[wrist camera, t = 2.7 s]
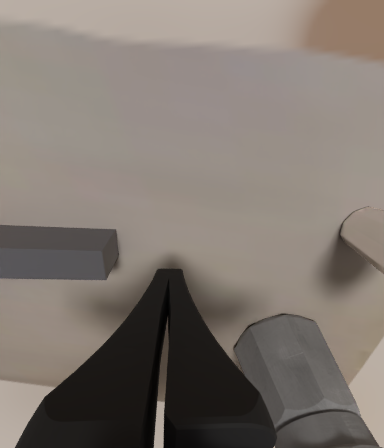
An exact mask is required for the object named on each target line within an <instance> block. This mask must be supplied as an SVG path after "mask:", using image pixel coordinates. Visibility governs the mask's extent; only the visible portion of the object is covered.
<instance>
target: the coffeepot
mask: <svg viewBox="0 0 384 448" xmlns="http://www.w3.org/2000/svg"><path fill="white" fill-rule="evenodd" d="M234 350H235V353H236V355H237V358H238V360H239V362H240V365H241V367H242V370H243V372H244V375H245V377H246V378H247V379H248V380H249V381H250V382H251V383H252V384H253V385H254V386H255V388H256V389H257V390H258V391H259V392H260V394H261V396H262V398H263V400H264V402H265V404H266V407H267V409H268V411H269V414H270V416H271V419H272V421H273V424H274V427H275V431H276V435H277V440H276V443H275V448H382V447H379V445H378V443H377V442H376V440H375V439H374V437H373V435H372V434H371V432H370V430H369V429H368V427H367V426H366V424H365V422H364V421H363V419H362V418H361V415H360V411H359V408H358V406H357V404H356V401H355V399H354V397H353V395H352V393H351V391H350V389H349V387H348V385H347V383H346V381H345V379H344V377H343V375H342V373H341V371H340V369H339V367H338V365H337V363H336V361H335V359H334V357H333V355H332V353H331V351H330V349H329V347H328V345H327V343H326V341H325V339H324V337H323V335H322V333H321V331H320V329H319V327H318V325H317V323H316V322H315V321H312V320H310V319H307V318H305V317H302V316H298V315H277V316H272V317H269V318H265V319H263V320H261V321H258V322H257V323H255V324H253V325H251V326H250V327H249V328H248V329H246V330H245V331H244V332H243V334H242V335H241V336H240V338H239V340H238V343H237V346H236V347H235V349H234Z"/></svg>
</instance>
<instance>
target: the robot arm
mask: <svg viewBox="0 0 384 448" xmlns="http://www.w3.org/2000/svg"><path fill="white" fill-rule="evenodd" d="M167 317H168V333H169V351H168V366H167V380H166V395H165V409H164V448H273V447H274V446H275V443H276V440H277V435H276V431H275V427H274V424H273V421H272V419H271V416H270V414H269V411H268V409H267V407H266V404H265V402H264V400H263V398H262V396H261V394H260V392H259V391H258V390H257V389H256V388H255V386H254V385H253V384H252V383H251V382H250V381H249V380H248V379H247V378H246V377H245V375H244V374H243V373H242V372H241V371H240V370H239V369H238V367H237V366H236V365H235V364H234V363H233V361H232V360H231V359H230V358H229V357H228V355H227V354H226V353H225V351H224V350H223V349H222V347H221V346H220V345H219V343H218V342H217V341H216V339H215V338H214V336H213V335H212V333H211V332H210V330H209V329H208V327H207V325H206V324H205V322H204V321H203V319H202V317H201V315H200V314H199V312H198V310H197V308H196V306H195V304H194V302H193V300H192V297H191V295H190V293H189V291H188V288H187V285H186V282H185V279H184V276H183V271H182V270H181V269H158V270H157V271H156V274H155V276H154V278H153V280H152V282H151V283H150V285H149V287H148V289H147V290H146V292H145V293H144V295H143V297H142V298H141V300H140V301H139V302H138V304H137V305H136V307H135V308H134V309H133V311H132V312H131V313H130V315H129V316H128V317H127V318H126V320H125V321H124V322H123V323H122V324H121V326H120V327H119V328H118V329H117V330H116V331H115V332H114V333H113V335H112V336H111V337H110V338H109V339H108V340H107V341H106V342H105V343H104V344H103V345H102V346H101V347H100V348H99V349H98V350H97V351H96V352H95V353H94V354H93V355H92V356H91V357H90V358H89V359H88V360H87V361H86V362H85V363H84V364H83V365H81V366H80V367H79V368H78V369H77V370H76V371H75V372H74V373H73V374H71V375H70V376H69V377H68V378H67V379H65V380H64V381H63V382H62V383H61V384H60V385H58V386H57V387H56V388H55V389H54V390H53V391H51V392H50V393H49V394H48V395H47V396H45V397H44V399H43V400H42V402H41V404H40V405H39V407H38V408H37V410H36V411H35V413H34V415H33V416H32V418H31V419H30V421H29V422H28V424H27V426H26V428H25V430H24V431H23V433H22V435H21V437H20V439H19V441H18V443H17V445H16V447H15V448H154V435H155V422H156V408H157V396H158V384H159V372H160V362H161V354H162V348H163V342H164V336H165V330H166V324H167Z"/></svg>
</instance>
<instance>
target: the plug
mask: <svg viewBox="0 0 384 448" xmlns="http://www.w3.org/2000/svg"><path fill="white" fill-rule="evenodd" d="M118 255H119V253H118V244H117V235H116V230H115V229H89V228H62V227H35V226H9V225H0V278H12V279H70V280H107V278H108V276H109V274H110V272H111V270H112V268H113V266H114V264H115V262H116V259H117V257H118Z"/></svg>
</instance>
